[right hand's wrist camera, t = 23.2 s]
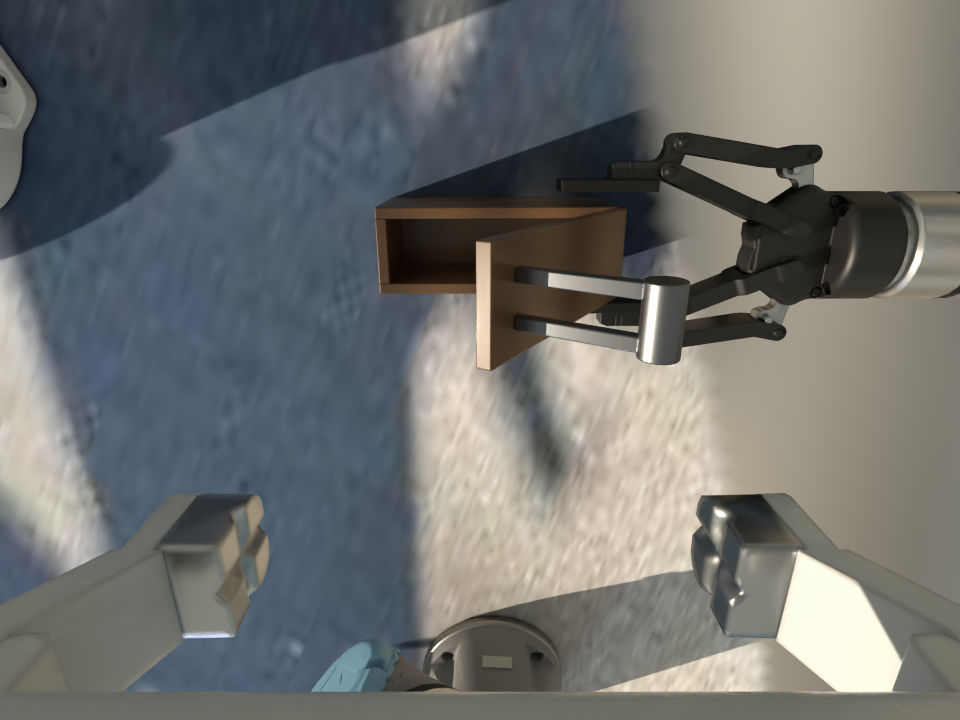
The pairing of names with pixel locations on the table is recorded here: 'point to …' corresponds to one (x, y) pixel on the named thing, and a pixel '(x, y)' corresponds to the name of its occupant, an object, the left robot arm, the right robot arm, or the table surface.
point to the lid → (570, 291)
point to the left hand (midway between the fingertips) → (556, 246)
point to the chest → (455, 236)
